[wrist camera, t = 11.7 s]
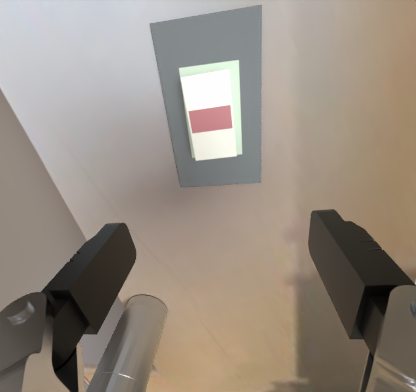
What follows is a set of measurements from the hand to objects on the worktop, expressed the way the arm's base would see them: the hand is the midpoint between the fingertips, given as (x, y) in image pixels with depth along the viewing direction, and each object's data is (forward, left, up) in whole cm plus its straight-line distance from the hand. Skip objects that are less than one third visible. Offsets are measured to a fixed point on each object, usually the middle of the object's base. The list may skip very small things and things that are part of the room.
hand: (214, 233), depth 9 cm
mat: (+2, +1, -22) cm, 22 cm away
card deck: (+2, +1, -21) cm, 21 cm away
